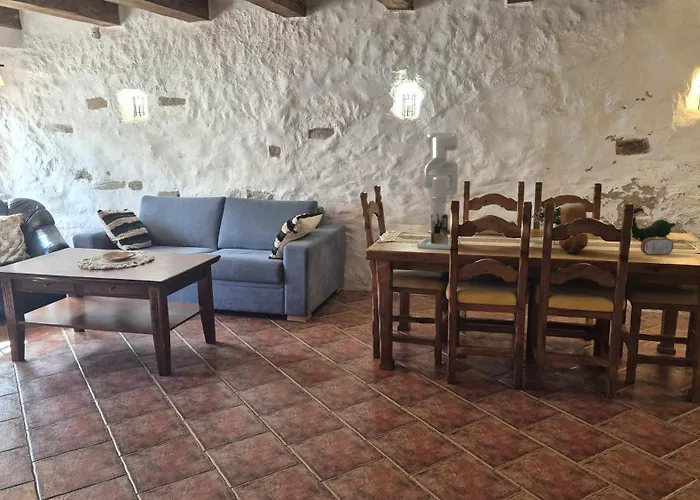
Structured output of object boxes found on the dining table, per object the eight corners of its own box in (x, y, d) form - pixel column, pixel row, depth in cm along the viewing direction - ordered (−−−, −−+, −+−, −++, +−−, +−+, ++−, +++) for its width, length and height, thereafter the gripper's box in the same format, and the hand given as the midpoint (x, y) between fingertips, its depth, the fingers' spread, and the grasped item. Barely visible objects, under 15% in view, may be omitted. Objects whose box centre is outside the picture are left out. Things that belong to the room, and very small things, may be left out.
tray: (424, 242, 318) (424, 238, 318) (460, 243, 311) (460, 239, 311) (417, 247, 304) (417, 243, 303) (454, 249, 297) (454, 245, 296)
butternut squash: (566, 248, 293) (569, 200, 288) (592, 252, 283) (595, 202, 278) (552, 253, 284) (555, 203, 279) (578, 257, 274) (581, 205, 269)
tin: (669, 253, 277) (671, 236, 275) (673, 254, 274) (675, 237, 272) (639, 254, 277) (640, 237, 275) (642, 255, 274) (644, 238, 272)
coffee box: (447, 243, 310) (447, 214, 307) (447, 245, 304) (448, 216, 300) (430, 243, 311) (430, 214, 308) (430, 245, 305) (430, 216, 302)
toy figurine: (631, 245, 305) (680, 240, 302) (630, 210, 301) (680, 205, 298) (624, 241, 314) (672, 237, 311) (623, 207, 310) (672, 202, 307)
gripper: (436, 197, 311) (435, 228, 315) (428, 202, 296) (428, 234, 299) (449, 198, 309) (449, 229, 312) (443, 202, 293) (442, 235, 297)
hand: (439, 231), depth 306 cm, fingers open, 9 cm apart
